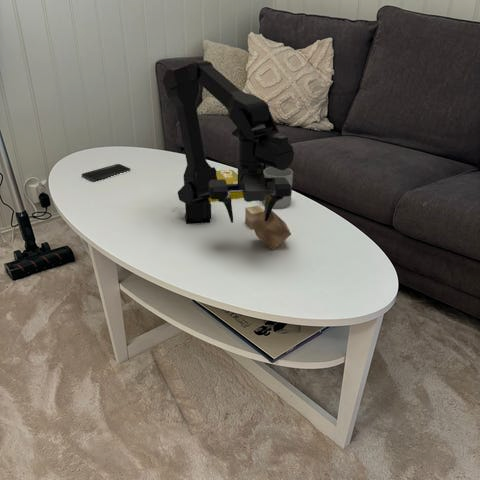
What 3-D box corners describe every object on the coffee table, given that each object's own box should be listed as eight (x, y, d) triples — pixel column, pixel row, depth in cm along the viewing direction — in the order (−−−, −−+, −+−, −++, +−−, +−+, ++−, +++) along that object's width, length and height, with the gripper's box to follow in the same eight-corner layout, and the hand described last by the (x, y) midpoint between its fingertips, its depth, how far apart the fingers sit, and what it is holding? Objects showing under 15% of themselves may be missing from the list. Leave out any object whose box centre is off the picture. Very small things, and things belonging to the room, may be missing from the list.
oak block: (251, 230, 124) (251, 213, 121) (245, 224, 127) (245, 207, 124) (264, 228, 125) (265, 211, 123) (258, 222, 128) (259, 205, 126)
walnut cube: (256, 236, 111) (274, 219, 110) (252, 225, 116) (269, 208, 115) (273, 250, 114) (291, 234, 112) (268, 239, 119) (285, 222, 118)
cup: (288, 210, 135) (291, 177, 130) (260, 207, 136) (261, 175, 132) (291, 199, 142) (294, 167, 137) (265, 196, 144) (266, 165, 139)
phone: (80, 174, 156) (118, 163, 166) (80, 177, 157) (119, 166, 166) (92, 180, 151) (131, 169, 161) (93, 183, 152) (132, 172, 162)
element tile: (188, 186, 151) (187, 172, 149) (232, 181, 156) (232, 167, 153) (200, 204, 139) (199, 189, 137) (247, 198, 143) (248, 183, 141)
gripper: (212, 171, 97) (213, 238, 104) (300, 169, 99) (295, 234, 107) (207, 155, 106) (208, 217, 114) (288, 153, 109) (283, 214, 116)
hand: (248, 221), depth 112 cm, fingers open, 8 cm apart
